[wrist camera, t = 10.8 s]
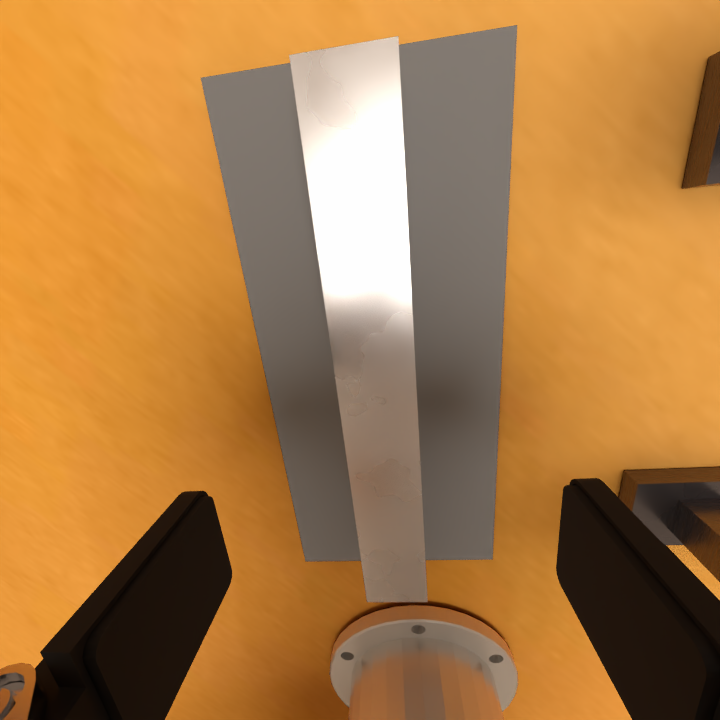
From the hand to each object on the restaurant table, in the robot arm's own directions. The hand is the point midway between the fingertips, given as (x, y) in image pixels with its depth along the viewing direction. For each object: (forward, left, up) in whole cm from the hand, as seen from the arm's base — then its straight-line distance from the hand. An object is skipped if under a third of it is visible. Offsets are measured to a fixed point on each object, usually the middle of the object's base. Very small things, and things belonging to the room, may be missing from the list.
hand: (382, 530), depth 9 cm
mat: (+1, 0, -8) cm, 8 cm away
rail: (+1, 0, -8) cm, 8 cm away
